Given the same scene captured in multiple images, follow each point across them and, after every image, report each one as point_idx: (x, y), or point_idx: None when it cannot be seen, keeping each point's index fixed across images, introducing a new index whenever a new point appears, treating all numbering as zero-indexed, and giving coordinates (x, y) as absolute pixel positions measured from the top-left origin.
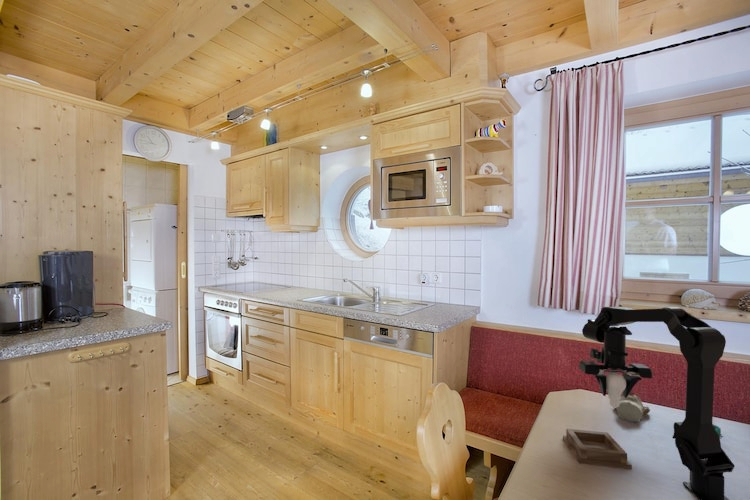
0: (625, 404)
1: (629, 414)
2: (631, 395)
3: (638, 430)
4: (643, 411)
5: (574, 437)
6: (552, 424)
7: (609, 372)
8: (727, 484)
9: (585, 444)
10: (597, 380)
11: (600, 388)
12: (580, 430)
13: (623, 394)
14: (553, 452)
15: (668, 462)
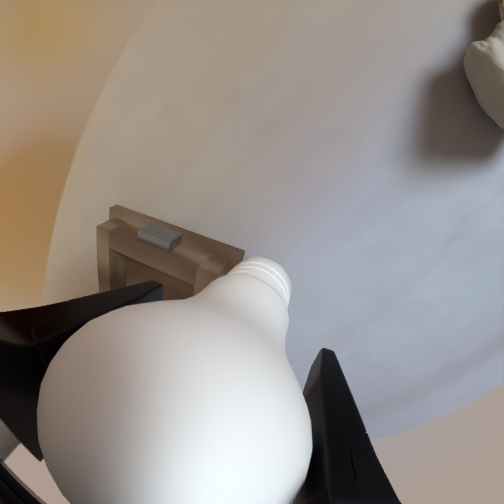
0: (501, 97)
1: (490, 114)
2: None
3: (455, 182)
4: None
5: (102, 278)
6: (124, 107)
7: (56, 484)
8: (383, 425)
9: (147, 266)
10: (34, 313)
11: (107, 293)
12: (129, 244)
13: (319, 359)
14: (84, 263)
15: (345, 365)
